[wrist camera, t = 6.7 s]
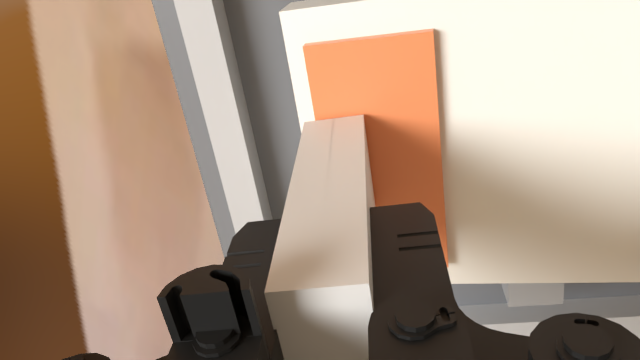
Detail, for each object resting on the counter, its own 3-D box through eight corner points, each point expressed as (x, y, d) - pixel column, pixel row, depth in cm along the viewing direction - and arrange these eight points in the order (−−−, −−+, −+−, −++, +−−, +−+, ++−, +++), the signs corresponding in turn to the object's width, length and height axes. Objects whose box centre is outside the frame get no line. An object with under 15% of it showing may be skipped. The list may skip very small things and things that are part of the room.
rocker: (844, -77, 11) (918, -70, 10) (766, 242, 15) (809, 288, 13) (295, -2, 14) (275, 14, 13) (338, 252, 18) (327, 291, 16)
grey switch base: (907, -332, 14) (1209, -463, 9) (762, 259, 22) (877, 367, 17) (156, -175, 17) (62, -205, 12) (271, 292, 25) (244, 392, 20)
